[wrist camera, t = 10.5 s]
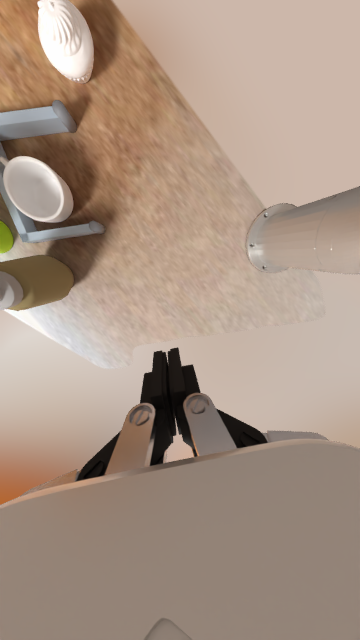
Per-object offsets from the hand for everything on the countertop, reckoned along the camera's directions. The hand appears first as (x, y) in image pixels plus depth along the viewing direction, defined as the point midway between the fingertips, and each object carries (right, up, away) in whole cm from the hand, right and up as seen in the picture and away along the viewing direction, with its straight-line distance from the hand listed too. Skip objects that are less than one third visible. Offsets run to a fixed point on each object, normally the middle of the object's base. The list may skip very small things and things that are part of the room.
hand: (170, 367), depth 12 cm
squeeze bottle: (-23, +12, +22) cm, 34 cm away
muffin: (-14, +39, +13) cm, 43 cm away
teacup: (-21, +24, +18) cm, 37 cm away
